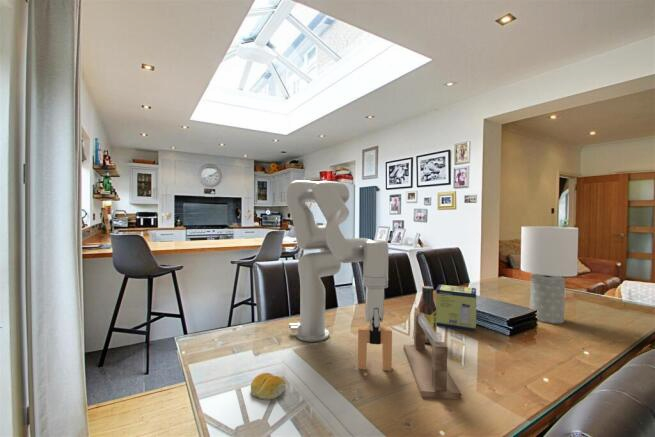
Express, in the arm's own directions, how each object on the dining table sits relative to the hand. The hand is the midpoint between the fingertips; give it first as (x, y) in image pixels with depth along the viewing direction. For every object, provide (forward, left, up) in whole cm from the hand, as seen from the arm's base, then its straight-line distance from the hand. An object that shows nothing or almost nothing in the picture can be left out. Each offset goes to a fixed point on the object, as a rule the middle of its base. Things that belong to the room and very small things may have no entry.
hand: (374, 340), depth 94 cm
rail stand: (+16, 0, -8) cm, 18 cm away
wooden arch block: (0, 0, -8) cm, 8 cm away
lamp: (+81, +52, -8) cm, 96 cm away
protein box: (+37, +40, -9) cm, 55 cm away
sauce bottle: (+21, +22, -8) cm, 32 cm away
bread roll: (-29, -15, -9) cm, 34 cm away
